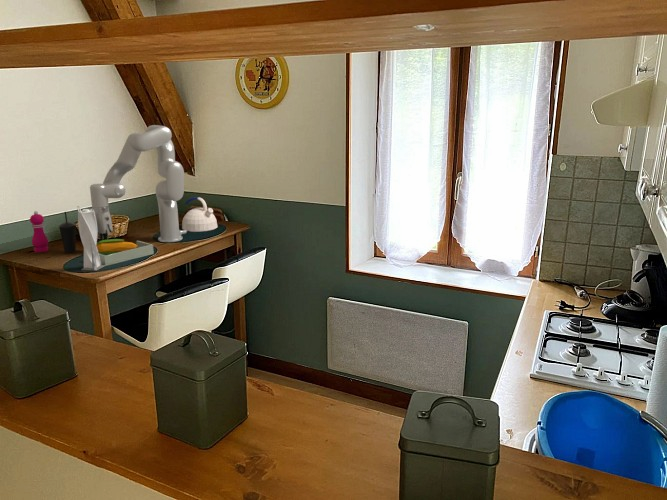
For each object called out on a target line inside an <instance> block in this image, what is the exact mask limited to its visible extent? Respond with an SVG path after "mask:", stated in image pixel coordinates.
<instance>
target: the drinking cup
mask: <svg viewBox="0 0 667 500" xmlns="http://www.w3.org/2000/svg"><path fill="white" fill-rule="evenodd" d="M64 218H65V221H64V222H62V223H60V224H58V225H57V226H58V228H59V232H60V237H61V240H62V245H63V250H64V253H66V254H72V253H75V252H76V251H77V250H76V249H77V247H76V246H77V245H76V243H77V242H76V225H77V224H76V223H74V222H71V221H68V217H67V211H64Z"/></svg>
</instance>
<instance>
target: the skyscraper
mask: <svg viewBox="0 0 667 500" xmlns="http://www.w3.org/2000/svg"><path fill="white" fill-rule="evenodd" d="M76 207H77V220H78V221H77V222H78V225H77V226H78V232H79V236H80V240H81V244H82V246H83V267H82V268H81V271H93V272H96V271H98V270H101V269H102V268H104V267H106V266H105V265H101V261H100V257H99V254H100V253H98V250H97V246H96V244H97V243H98V242H97V241H98V233H97V222H96V217H95V213H94V210H93V209H92V208H83V209H82V210H81V207H80V206H79V205H78V206H76Z"/></svg>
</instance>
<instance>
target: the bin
mask: <svg viewBox="0 0 667 500" xmlns="http://www.w3.org/2000/svg"><path fill="white" fill-rule="evenodd" d="M136 245H137V247H136V248H135V249H131V250H127V251H122V252H118V253H114V254H110V255H104V254H100V253H99V257H100V261H101V265H105V266H104V267H106V266H111V265H115V264H119V263H122V262H127V261H132V260H135V259H139V258H142V257H147V256H150V255H154V254H155V251H154V244H151V243H148V242H144V241H142V240H141V241H140V240H136Z"/></svg>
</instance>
